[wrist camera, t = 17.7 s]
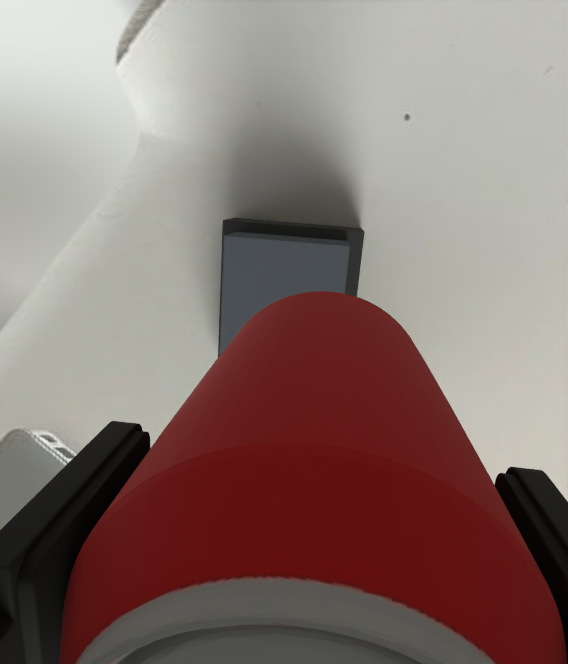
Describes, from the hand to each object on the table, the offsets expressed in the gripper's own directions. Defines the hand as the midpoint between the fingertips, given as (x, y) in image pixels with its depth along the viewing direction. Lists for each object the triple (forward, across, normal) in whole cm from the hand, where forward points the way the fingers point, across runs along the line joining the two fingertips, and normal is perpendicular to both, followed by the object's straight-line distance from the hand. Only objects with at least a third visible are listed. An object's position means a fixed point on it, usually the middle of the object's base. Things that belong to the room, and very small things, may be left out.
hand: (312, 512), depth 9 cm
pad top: (+19, +2, 0) cm, 19 cm away
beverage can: (+7, 0, 0) cm, 7 cm away
